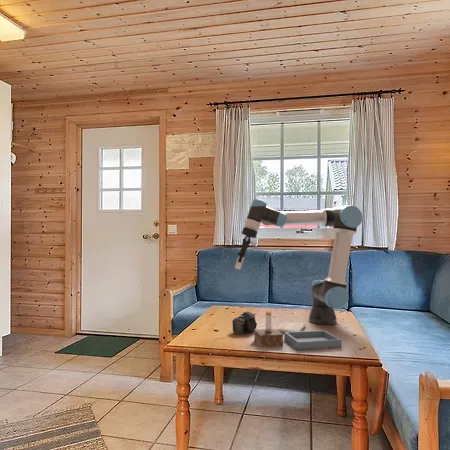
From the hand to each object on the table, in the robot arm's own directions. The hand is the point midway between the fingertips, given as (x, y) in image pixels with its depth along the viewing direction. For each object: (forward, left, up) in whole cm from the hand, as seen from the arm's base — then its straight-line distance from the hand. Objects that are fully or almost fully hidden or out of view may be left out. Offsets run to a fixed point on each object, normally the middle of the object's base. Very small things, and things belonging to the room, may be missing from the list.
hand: (237, 268), depth 187 cm
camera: (-4, +4, -31) cm, 32 cm away
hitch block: (-9, +24, -31) cm, 40 cm away
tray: (-28, +28, -31) cm, 50 cm away
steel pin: (-9, +24, -31) cm, 40 cm away
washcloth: (-28, +4, -32) cm, 42 cm away
